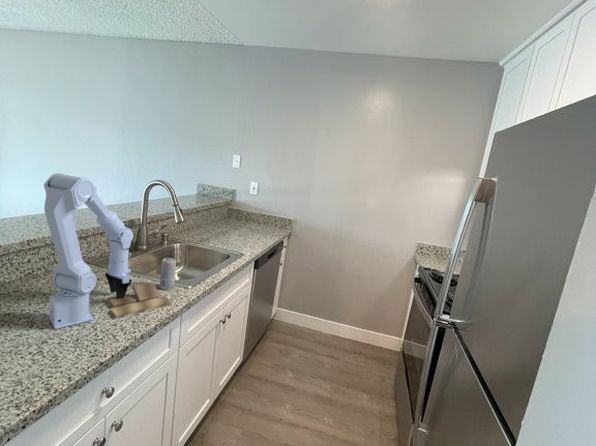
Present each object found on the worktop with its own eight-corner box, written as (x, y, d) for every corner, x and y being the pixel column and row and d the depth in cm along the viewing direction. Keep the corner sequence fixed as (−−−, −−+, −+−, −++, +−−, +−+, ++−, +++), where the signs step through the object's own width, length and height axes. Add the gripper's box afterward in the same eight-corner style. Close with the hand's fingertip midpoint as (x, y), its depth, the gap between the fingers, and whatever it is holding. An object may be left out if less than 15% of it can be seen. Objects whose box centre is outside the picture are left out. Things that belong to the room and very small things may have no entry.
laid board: (116, 318, 95) (116, 315, 95) (109, 310, 99) (109, 307, 99) (170, 304, 109) (171, 301, 109) (163, 298, 113) (163, 295, 112)
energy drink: (170, 284, 126) (172, 257, 124) (176, 288, 122) (178, 260, 120) (157, 286, 121) (159, 258, 119) (163, 291, 118) (165, 262, 116)
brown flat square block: (113, 308, 100) (114, 305, 100) (106, 301, 105) (106, 297, 104) (136, 303, 106) (136, 300, 105) (128, 296, 110) (128, 293, 110)
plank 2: (139, 302, 106) (139, 300, 106) (132, 287, 109) (133, 285, 109) (158, 298, 112) (159, 296, 111) (152, 283, 115) (152, 281, 114)
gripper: (139, 264, 104) (137, 300, 106) (123, 252, 113) (121, 285, 115) (116, 267, 98) (115, 305, 101) (102, 254, 107) (100, 289, 110)
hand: (117, 295), depth 108 cm, fingers open, 6 cm apart
